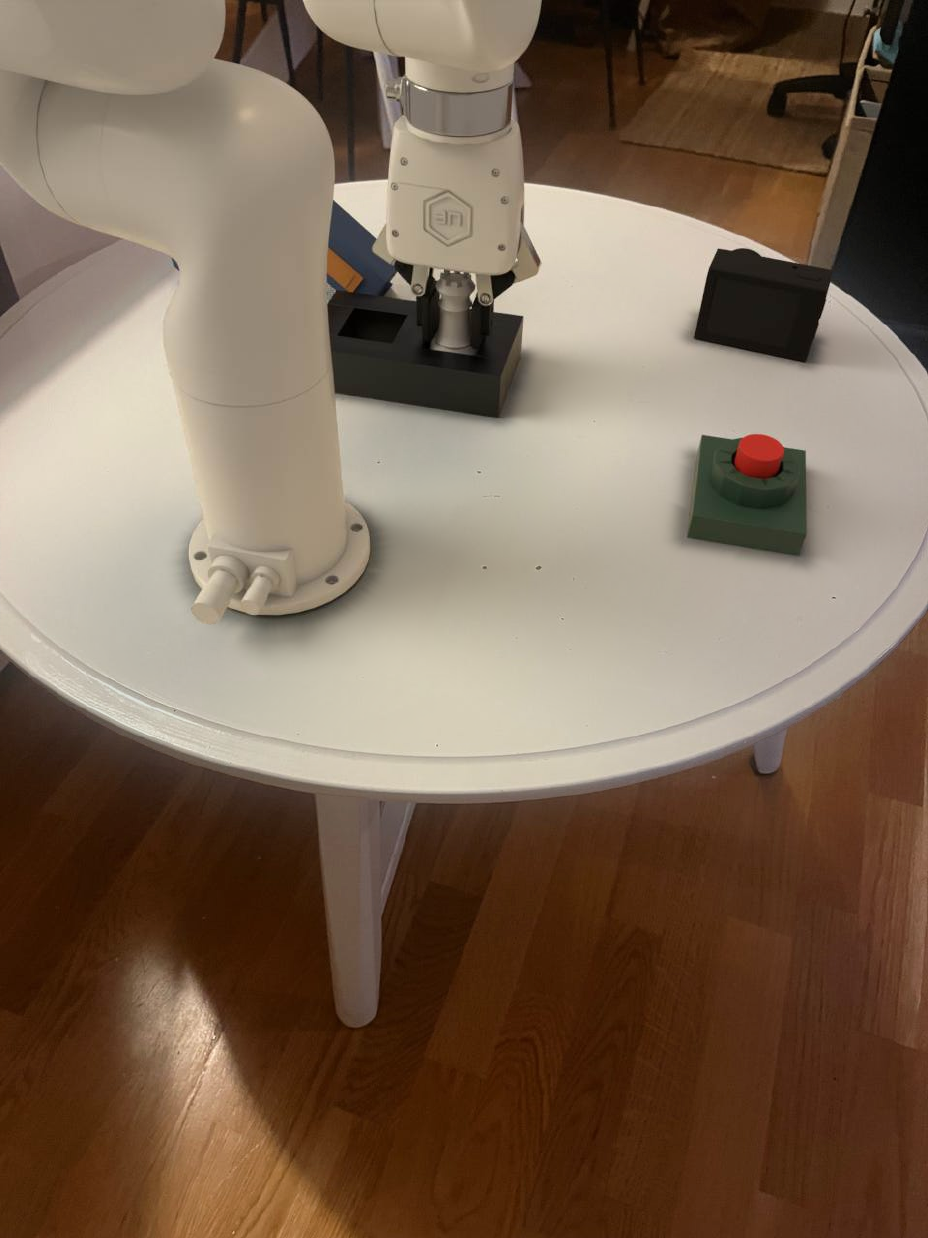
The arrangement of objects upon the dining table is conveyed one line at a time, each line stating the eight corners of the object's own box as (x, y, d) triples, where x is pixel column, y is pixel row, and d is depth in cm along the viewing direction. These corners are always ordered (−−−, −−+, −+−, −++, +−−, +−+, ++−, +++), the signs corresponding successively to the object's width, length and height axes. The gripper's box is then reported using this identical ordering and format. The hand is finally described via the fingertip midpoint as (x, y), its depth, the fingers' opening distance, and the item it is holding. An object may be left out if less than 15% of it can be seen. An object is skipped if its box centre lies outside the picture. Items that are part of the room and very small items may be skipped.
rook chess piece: (421, 371, 83) (420, 282, 77) (437, 344, 86) (437, 257, 80) (471, 380, 82) (474, 292, 76) (486, 353, 85) (490, 266, 79)
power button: (777, 483, 70) (784, 463, 69) (733, 475, 71) (738, 456, 69) (778, 456, 72) (784, 437, 71) (734, 449, 73) (740, 430, 72)
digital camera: (814, 333, 91) (837, 262, 86) (806, 362, 88) (829, 290, 83) (705, 311, 94) (720, 240, 89) (693, 338, 90) (708, 267, 85)
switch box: (798, 556, 70) (814, 514, 67) (686, 538, 71) (697, 495, 68) (798, 472, 77) (812, 431, 74) (696, 456, 78) (706, 415, 75)
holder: (498, 418, 81) (500, 376, 78) (303, 387, 84) (298, 346, 81) (520, 356, 88) (523, 315, 85) (339, 329, 90) (336, 289, 87)
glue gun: (343, 403, 100) (423, 310, 89) (68, 201, 89) (123, 69, 79) (361, 369, 103) (440, 275, 93) (100, 171, 93) (155, 41, 83)
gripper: (330, 109, 67) (346, 346, 81) (566, 136, 65) (543, 375, 78) (362, 74, 72) (373, 302, 86) (582, 97, 70) (558, 328, 83)
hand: (454, 335), depth 82 cm, fingers closed on rook chess piece, 3 cm apart
